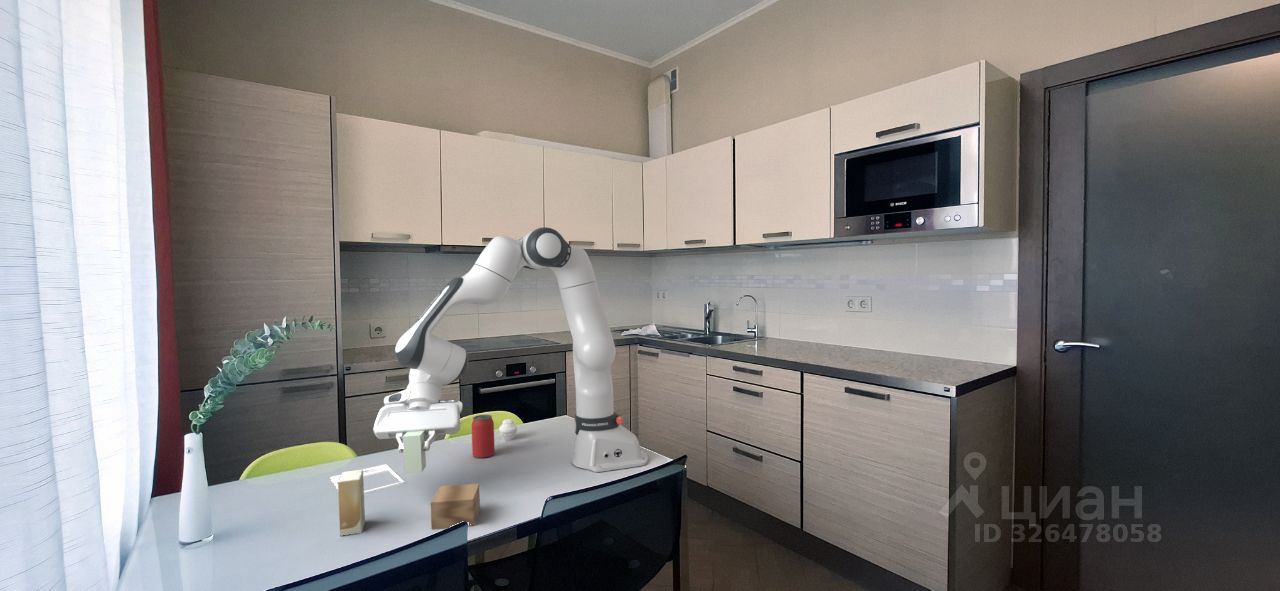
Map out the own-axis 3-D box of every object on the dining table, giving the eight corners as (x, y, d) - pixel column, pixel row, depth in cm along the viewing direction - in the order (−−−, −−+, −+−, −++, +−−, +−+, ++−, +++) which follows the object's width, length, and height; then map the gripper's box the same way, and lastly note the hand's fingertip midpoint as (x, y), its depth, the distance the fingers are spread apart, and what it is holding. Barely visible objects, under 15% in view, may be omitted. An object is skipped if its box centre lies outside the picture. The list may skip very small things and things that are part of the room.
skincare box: (344, 524, 120) (341, 471, 120) (365, 520, 122) (363, 468, 121) (339, 537, 114) (336, 481, 114) (361, 533, 116) (359, 478, 115)
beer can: (497, 451, 168) (496, 414, 167) (489, 459, 161) (488, 420, 161) (477, 451, 168) (476, 414, 168) (469, 458, 162) (467, 419, 161)
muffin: (520, 436, 183) (519, 416, 183) (513, 442, 177) (513, 421, 177) (503, 436, 184) (502, 416, 184) (495, 441, 178) (495, 421, 178)
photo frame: (386, 463, 157) (404, 481, 143) (386, 467, 157) (404, 485, 143) (329, 476, 148) (343, 496, 134) (330, 480, 148) (343, 500, 134)
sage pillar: (426, 466, 132) (424, 430, 132) (421, 472, 128) (420, 435, 128) (409, 467, 132) (407, 431, 131) (404, 473, 128) (402, 436, 128)
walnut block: (479, 508, 127) (479, 483, 127) (473, 525, 118) (472, 499, 118) (440, 511, 126) (439, 486, 126) (431, 529, 117) (430, 502, 117)
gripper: (465, 405, 142) (460, 453, 133) (384, 410, 139) (373, 460, 130) (461, 392, 138) (455, 441, 129) (377, 397, 135) (365, 447, 126)
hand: (413, 450), depth 129 cm, fingers closed on sage pillar, 4 cm apart
